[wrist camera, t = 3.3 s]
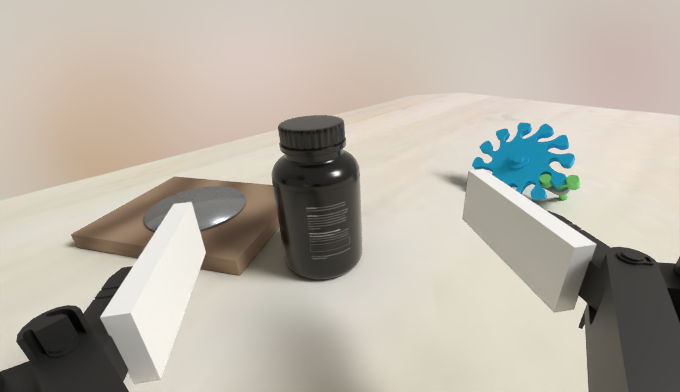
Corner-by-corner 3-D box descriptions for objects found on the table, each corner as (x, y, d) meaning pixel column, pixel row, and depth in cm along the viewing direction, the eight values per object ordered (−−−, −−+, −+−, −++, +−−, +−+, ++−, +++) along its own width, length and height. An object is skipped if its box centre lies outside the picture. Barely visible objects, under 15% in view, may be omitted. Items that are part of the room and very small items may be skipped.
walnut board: (77, 247, 32) (69, 231, 31) (177, 187, 44) (173, 174, 43) (239, 275, 27) (235, 257, 27) (302, 199, 39) (301, 185, 38)
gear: (453, 173, 40) (508, 107, 39) (468, 193, 44) (518, 134, 43) (538, 223, 32) (609, 142, 31) (547, 241, 36) (610, 171, 36)
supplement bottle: (369, 240, 31) (368, 112, 26) (350, 289, 25) (344, 137, 20) (302, 231, 33) (288, 110, 28) (270, 275, 27) (245, 133, 22)
